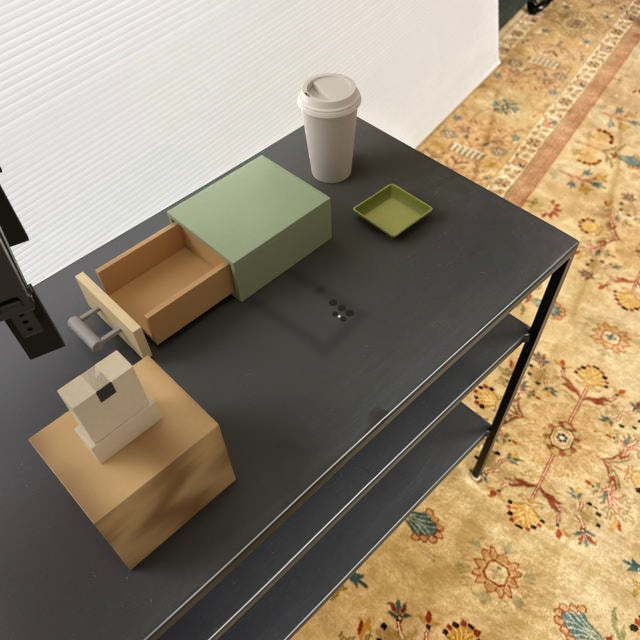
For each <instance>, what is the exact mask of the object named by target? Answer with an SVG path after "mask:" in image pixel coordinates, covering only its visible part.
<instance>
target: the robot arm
mask: <svg viewBox="0 0 640 640" xmlns="http://www.w3.org/2000/svg"><path fill="white" fill-rule="evenodd" d="M3 172H4V171H3V168H2V166H1V165H0V174H1V173H3ZM29 241H30V237H29V235H28V233H27V231H26V229H25V227H24V225H23V224H22V222H21V219H20V218H19V216H18V214H17V212H16V211H15V208H14V207H13V205H12V202H10V200H9V198H8V196H7V195H6V192H5V190H4V189H3V186H2V185H1V184H0V323H1V322H4V323H5V324H6V326H7V327H8V329H9V330H10V332H11V333H12V335H13V336H14V337H15V340H16V341H17V342H18V344H19V345H20V347H21V348H22V350H23V351H24V353H25V354H26V355H27V357H28V359H29V360H30V361H32V360H34V359H36V358H39V357H42V356H44V355H46V354H49V353H52V352H54V351H58V350H59V349H62V348H65V347H66V343H65V340H64V338H63V336H62V335H61V333H60V331H59V329H58V328H57V326H56V324H55V323H54V321H53V319H52V317H51V316H50V314H49V312H48V311H47V308H46V307H45V306H44V303H43V301H42V300H41V298H40V297H39V295H38V293H37V291H36V289H35V288H34V287H33V285H32V283H31V282H30V283H27V281H26V278H25V276H24V274H23V272H22V269H21V268H20V265H19V263H18V261H17V259H16V256H15V255H14V252H13V250H12V247H15V246H17V245H20V244H21V245H22V244H23V243H26V242H29Z"/></svg>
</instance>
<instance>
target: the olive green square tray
mask: <svg viewBox="0 0 640 640" xmlns="http://www.w3.org/2000/svg"><path fill="white" fill-rule="evenodd" d="M352 210H353V212H354V213H355V214H356V215H357V216H359V217H360V218H361V219H363V220H364V221H366V222H368V223H370V224H371V225H372V226H374V227H375V228H377V229H378V230H379V231H382V233H385V234H386V235H387V236H389V237H391V238H392V239H394V238H396V237H398V236H399V235H400V234H402V233H403V232H405V231H406V230H408V229H409V228H411V227H412V226H413V225H415V224H417V223H418V222H419V221H421V220H422V219H423V218H425V217H426V216H427V215H429V214H430V213H431V212H432V211H433V210H434V208H433V207H432V206H431V205H429V204H428V203H426V202H424V201H423V200H422V199H420V198H418V197H416V196H414V194H411V193H409V192H408V191H406V190H405V189H403V188H402V187H400V186H399V185H396V184H395V183H390V184H387V185H386V186H384V187H383V188H382V189H380V190H378V191H377V192H375V193H374V194H373V195H370V196H369V197H367V198H366V199H365V200H363V201H361V202H359V203H358V204H357V205H355V206H354V207H352Z"/></svg>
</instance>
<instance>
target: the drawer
mask: <svg viewBox="0 0 640 640" xmlns="http://www.w3.org/2000/svg"><path fill="white" fill-rule="evenodd" d="M95 274H96V277H98V280H99V282H100V284H101V287H102V288H101V287H100V286H99V285H98V284H97V283H95V281H93V279H92V278H90V277H89V276H88V275H87V274H86V273H85V272H84V271H81V272H79V273H78V274H77V275H75V276H74V277H75V280H76V282H77V284H78V287H79V288H80V290H81V292H82V294H83V296H84V298H85V300H86V302H87V304H88V307H90V308H91V309H89V310H87V311H86V312H84V313H83V314H81V315H80V316H78V315H73V316H71V317H69V319H68V320H67V326H68V327H69V328H70V329H71V330H72V331H73V332H74V333H75V334H76V335H77V336H78V337H79V339H81V340H82V341H83V342H84V343H85V345H86V346H87V347H89V349H90V350H91V351H92V352H94V353H98V352H100V351H102V350H103V349H104V347H105V344H106V343H107V342H108V341H110V340H111V339H113V338H115V337H116V336H117V335H118V336H119V337H120V338H121V339H122V340H123V341H124V342H125V344H127V345H128V346H129V347H130V348H131V349H132V350H133V351H134V352H135V353H136V354H137V355H138V356H139V357H140V358H141V360H142V359H143V358H145V357H146V356H149V357H150V358H151V357H153V353H152V351H151V348H150V346H149V343H148V341H147V338H146V336H147V337H148V338H149V339H150V340H151V341H152V342H154V343H155V344H156V345H157V346H159V344H160V345H161V343H162V342H164V341H166V340H167V339H168V338H170V337H172V336H173V335H175V334H176V333H177V332H178V331H180V330H181V329H183V328H184V327H185V326H187V325H189V324H190V323H191V322H193V321H194V320H195V319H197V318H198V317H199V316H201V315H203V314H204V313H205V312H207V311H208V310H210V309H212V308H213V307H214V306H215V305H217V304H218V303H220V302H221V301H223V300H224V299H225V298H227V297H228V296H230V295H232V294H231V293H233V292H234V291H235V290H236V289H235V284H234V279H233V274H232V270H231V265H230V264H229V263H228V262H226V261H225V260H224V259H223V258H221V257H220V256H219V255H217V254H216V253H215V252H214V251H212V250H211V249H210V248H208V247H207V246H206V245H205V244H203V243H202V242H201V241H199V240H198V239H197V238H196V237H194V236H193V235H192V234H190V233H189V232H188V231H187V230H185V229H184V228H183V227H181V226H180V225H179V224H178V223H176V222H173V223H172V224H170V223H169V225H167V226H164V227H163V228H162V229H159V230H158V231H157V232H155V233H154V234H152V235H150V236H148V237H147V238H145V239H143V240H142V241H140V242H139V243H137V244H135V245H134V246H132V247H131V248H129V249H127V250H125V251H124V252H122V253H121V254H119V255H117V256H116V257H114V258H112V259H111V260H109V261H108V262H106V263H104V264H102V265H101V266H99V267H98V268H95ZM96 314H97V315H98V317H100V318H101V320H103V321H104V322H105V323H106V324H107V325H108V326H109V327H110V328H111V329H112V330H110V331H109V332H107V333H106V334H104V335H103V336H101V337H98V336H97V334H96V333H95V332H94V331H93V330H92V329H91V328H90V327H89V326H88V325H87V324H86V322H85V321H87V320H88V319H90V318H92V317H93V316H95V315H96ZM145 335H146V336H145Z"/></svg>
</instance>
